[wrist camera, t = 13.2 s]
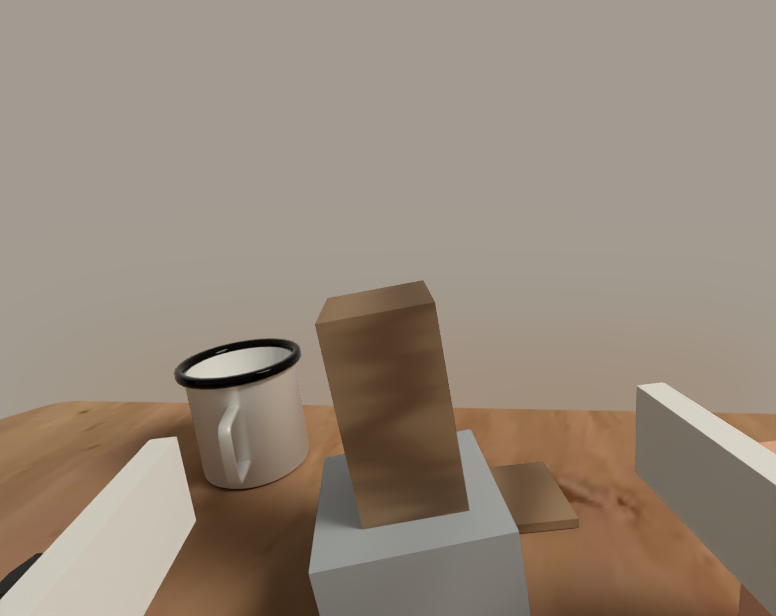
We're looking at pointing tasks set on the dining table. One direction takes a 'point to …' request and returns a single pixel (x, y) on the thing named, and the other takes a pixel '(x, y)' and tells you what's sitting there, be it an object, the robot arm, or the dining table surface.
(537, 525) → the walnut tile
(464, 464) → the grey block
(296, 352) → the mug
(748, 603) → the terracotta block
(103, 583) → the robot arm
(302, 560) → the dining table surface
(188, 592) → the dining table surface
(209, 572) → the dining table surface
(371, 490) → the walnut block
